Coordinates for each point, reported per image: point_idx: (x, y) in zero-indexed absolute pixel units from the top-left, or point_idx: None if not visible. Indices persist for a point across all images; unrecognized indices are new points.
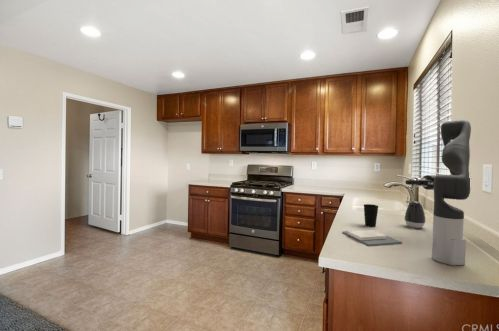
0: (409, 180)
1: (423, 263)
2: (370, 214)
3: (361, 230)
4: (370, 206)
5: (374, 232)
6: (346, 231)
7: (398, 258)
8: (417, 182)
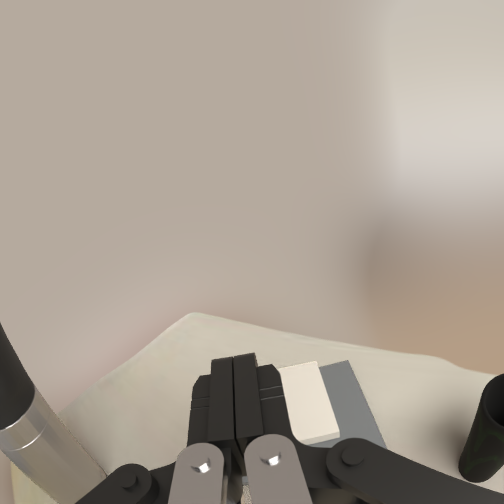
0: (211, 371)
1: (98, 431)
2: (472, 425)
3: (370, 412)
4: (482, 395)
5: (302, 426)
6: (349, 369)
7: (136, 406)
8: (168, 477)
